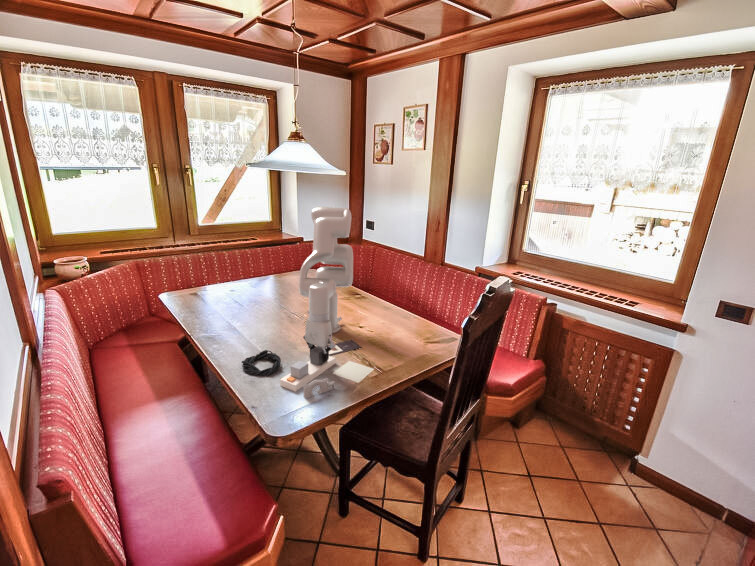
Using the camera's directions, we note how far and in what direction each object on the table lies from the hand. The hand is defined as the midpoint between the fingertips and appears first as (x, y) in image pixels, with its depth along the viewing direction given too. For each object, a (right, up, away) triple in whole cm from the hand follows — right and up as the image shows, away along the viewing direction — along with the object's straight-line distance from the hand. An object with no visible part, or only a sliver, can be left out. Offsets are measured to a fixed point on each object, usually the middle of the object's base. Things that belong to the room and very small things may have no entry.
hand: (319, 358), depth 146 cm
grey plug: (-6, -6, -9) cm, 12 cm away
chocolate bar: (+6, 0, +18) cm, 19 cm away
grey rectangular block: (0, -4, +1) cm, 4 cm away
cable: (-23, -4, 0) cm, 23 cm away
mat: (+14, -5, -1) cm, 15 cm away
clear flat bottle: (+3, -10, -15) cm, 18 cm away
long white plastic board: (-3, -6, -4) cm, 8 cm away
